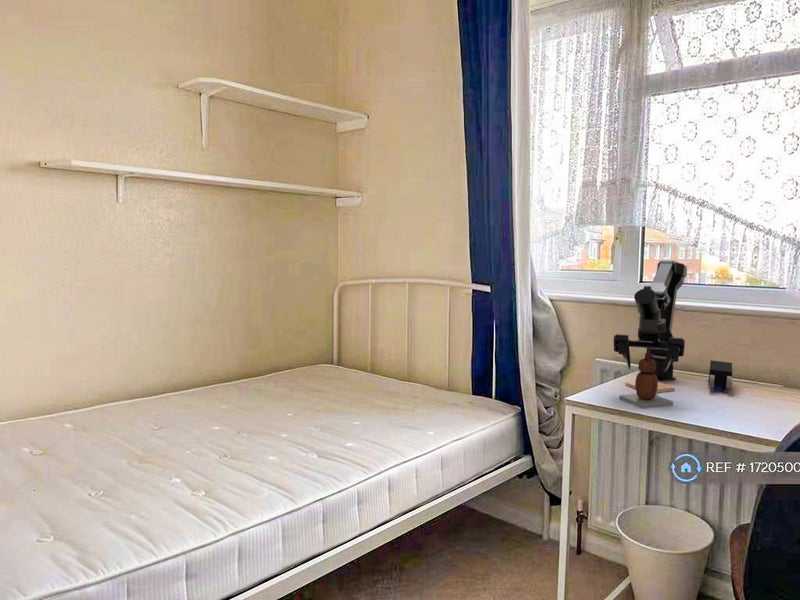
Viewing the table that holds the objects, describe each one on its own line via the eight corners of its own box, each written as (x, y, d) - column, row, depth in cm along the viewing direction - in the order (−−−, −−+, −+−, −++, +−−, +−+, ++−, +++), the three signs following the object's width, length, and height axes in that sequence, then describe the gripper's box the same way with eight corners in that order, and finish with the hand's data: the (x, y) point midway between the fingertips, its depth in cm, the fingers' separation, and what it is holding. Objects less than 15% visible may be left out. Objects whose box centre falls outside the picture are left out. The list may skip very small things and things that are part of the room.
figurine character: (732, 400, 177) (731, 383, 190) (734, 375, 175) (732, 359, 189) (707, 397, 180) (707, 380, 193) (708, 373, 178) (708, 357, 192)
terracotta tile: (625, 385, 189) (625, 382, 189) (651, 382, 192) (652, 379, 192) (646, 393, 180) (646, 390, 179) (674, 390, 182) (674, 387, 182)
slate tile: (619, 398, 174) (619, 395, 174) (648, 395, 177) (648, 392, 177) (642, 408, 165) (642, 404, 165) (672, 405, 168) (673, 401, 168)
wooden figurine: (655, 402, 167) (657, 349, 165) (633, 399, 170) (635, 347, 168) (658, 396, 173) (660, 345, 171) (636, 393, 175) (638, 343, 174)
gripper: (615, 306, 175) (611, 351, 167) (686, 309, 168) (685, 356, 159) (616, 329, 183) (612, 372, 175) (683, 333, 176) (683, 378, 167)
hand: (647, 369), depth 169 cm, fingers open, 9 cm apart
